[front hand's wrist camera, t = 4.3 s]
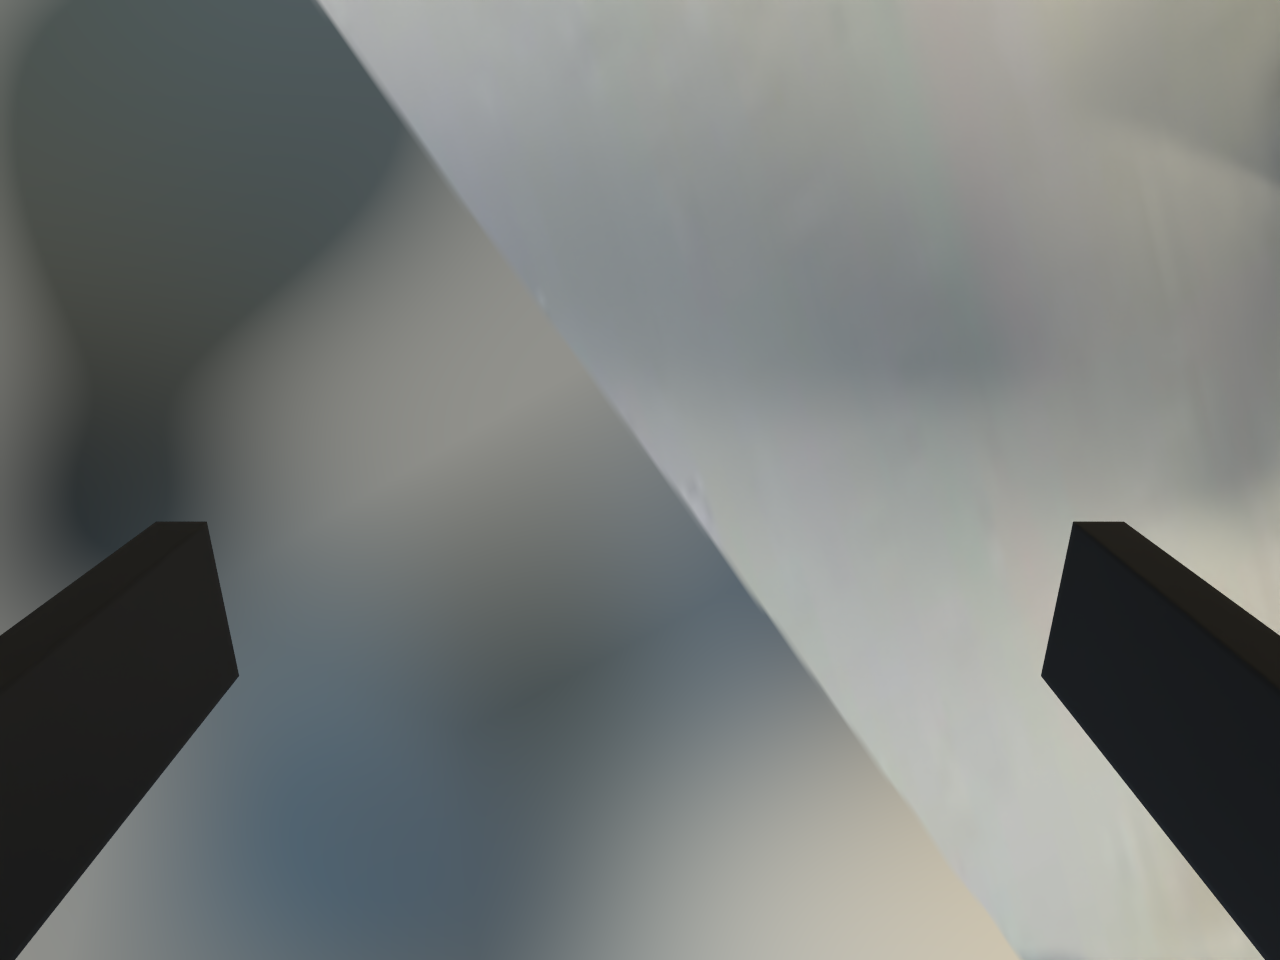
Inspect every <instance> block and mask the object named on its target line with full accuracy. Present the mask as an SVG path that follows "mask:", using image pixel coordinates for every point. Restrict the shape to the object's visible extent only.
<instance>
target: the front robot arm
mask: <svg viewBox="0 0 1280 960" xmlns="http://www.w3.org/2000/svg"><path fill="white" fill-rule="evenodd" d="M238 676H239V674H238V669H237V664H236V659H235V654H234V650H233V645H232V640H231V635H230V631H229V626H228V621H227V616H226V612H225V607H224V602H223V597H222V593H221V588H220V583H219V578H218V573H217V569H216V564H215V559H214V554H213V549H212V545H211V540H210V535H209V530H208V526H207V522H155V523H154V524H152V525H151V526H150V527H148V528H147V529H146V530H144V531H143V532H141V533H140V534H139V535H137V536H136V537H135V538H133V539H132V540H130V541H129V542H128V543H126V544H125V545H124V546H122V547H121V548H120V549H118V550H117V551H115V552H114V553H113V554H111V555H110V556H109V557H107V558H106V559H104V560H103V561H102V562H100V563H99V564H98V565H96V566H95V567H94V568H92V569H91V570H90V571H88V572H87V573H85V574H84V575H83V576H81V577H80V578H79V579H77V580H76V581H74V582H73V583H72V584H70V585H69V586H68V587H66V588H65V589H63V590H62V591H61V592H59V593H58V594H57V595H55V596H54V597H53V598H51V599H50V600H48V601H47V602H46V603H44V604H43V605H42V606H40V607H39V608H37V609H36V610H35V611H33V612H32V613H31V614H29V615H28V616H27V617H25V618H24V619H22V620H21V621H20V622H18V623H17V624H16V625H14V626H13V627H12V628H10V629H9V630H7V631H6V632H5V633H3V634H2V635H1V636H0V960H15V959H16V958H17V956H18V955H19V954H20V953H21V951H22V950H23V949H24V948H25V946H26V945H27V944H28V942H29V941H30V940H31V939H32V937H33V936H34V935H35V934H36V932H37V931H38V930H39V928H40V927H41V926H42V925H43V923H44V922H45V921H46V920H47V918H48V917H49V916H50V915H51V913H52V912H53V911H54V910H55V908H56V907H57V906H58V905H59V903H60V902H61V901H62V899H63V898H64V897H65V896H66V894H67V893H68V892H69V891H70V889H71V888H72V887H73V886H74V884H75V883H76V882H77V880H78V879H79V878H80V877H81V875H82V874H83V873H84V872H85V870H86V869H87V868H88V867H89V865H90V864H91V863H92V861H93V860H94V859H95V858H96V856H97V855H98V854H99V853H100V851H101V850H102V849H103V847H104V846H105V845H106V844H107V842H108V841H109V840H110V839H111V837H112V836H113V835H114V834H115V832H116V831H117V830H118V828H119V827H120V826H121V825H122V823H123V822H124V821H125V820H126V818H127V817H128V816H129V815H130V813H131V812H132V811H133V809H134V808H135V807H136V806H137V804H138V803H139V802H140V801H141V799H142V798H143V797H144V796H145V794H146V793H147V792H148V790H149V789H150V788H151V787H152V785H153V784H154V783H155V782H156V780H157V779H158V778H159V777H160V775H161V774H162V773H163V771H164V770H165V769H166V768H167V766H168V765H169V764H170V763H171V761H172V760H173V759H174V758H175V756H176V755H177V754H178V752H179V751H180V750H181V749H182V747H183V746H184V745H185V744H186V742H187V741H188V740H189V738H190V737H191V736H192V735H193V733H194V732H195V731H196V730H197V728H198V727H199V726H200V725H201V723H202V722H203V721H204V720H205V718H206V717H207V716H208V714H209V713H210V712H211V711H212V709H213V708H214V707H215V706H216V704H217V703H218V702H219V701H220V699H221V698H222V697H223V695H224V694H225V693H226V692H227V690H228V689H229V688H230V687H231V685H232V684H233V683H234V682H235V680H236V679H237V678H238ZM1041 676H1042V678H1043V679H1044V680H1045V682H1046V683H1047V684H1048V685H1049V687H1050V688H1051V689H1052V690H1053V692H1054V693H1055V694H1056V695H1057V697H1058V698H1059V699H1060V701H1061V702H1062V703H1063V704H1064V706H1065V707H1066V708H1067V709H1068V711H1069V712H1070V713H1071V714H1072V716H1073V717H1074V718H1075V720H1076V721H1077V722H1078V723H1079V725H1080V726H1081V727H1082V728H1083V730H1084V731H1085V732H1086V733H1087V735H1088V736H1089V737H1090V739H1091V740H1092V741H1093V742H1094V744H1095V745H1096V746H1097V747H1098V749H1099V750H1100V751H1101V752H1102V754H1103V755H1104V756H1105V758H1106V759H1107V760H1108V761H1109V763H1110V764H1111V765H1112V766H1113V768H1114V769H1115V770H1116V771H1117V773H1118V774H1119V775H1120V777H1121V778H1122V779H1123V780H1124V782H1125V783H1126V784H1127V785H1128V787H1129V788H1130V789H1131V790H1132V792H1133V793H1134V794H1135V796H1136V797H1137V798H1138V799H1139V801H1140V802H1141V803H1142V804H1143V806H1144V807H1145V808H1146V809H1147V811H1148V812H1149V813H1150V815H1151V816H1152V817H1153V818H1154V820H1155V821H1156V822H1157V823H1158V825H1159V826H1160V827H1161V829H1162V830H1163V831H1164V832H1165V834H1166V835H1167V836H1168V837H1169V839H1170V840H1171V841H1172V842H1173V844H1174V845H1175V846H1176V848H1177V849H1178V850H1179V851H1180V853H1181V854H1182V855H1183V856H1184V858H1185V859H1186V860H1187V861H1188V863H1189V864H1190V865H1191V867H1192V868H1193V869H1194V870H1195V872H1196V873H1197V874H1198V875H1199V877H1200V878H1201V879H1202V880H1203V882H1204V883H1205V884H1206V886H1207V887H1208V888H1209V889H1210V891H1211V892H1212V893H1213V894H1214V896H1215V897H1216V898H1217V899H1218V901H1219V902H1220V903H1221V905H1222V906H1223V907H1224V908H1225V910H1226V911H1227V912H1228V913H1229V915H1230V916H1231V917H1232V918H1233V920H1234V921H1235V922H1236V924H1237V925H1238V926H1239V927H1240V929H1241V930H1242V931H1243V932H1244V934H1245V935H1246V936H1247V937H1248V939H1249V940H1250V941H1251V943H1252V944H1253V945H1254V946H1255V948H1256V949H1257V950H1258V951H1259V953H1260V954H1261V955H1262V956H1263V958H1264V959H1265V960H1280V636H1279V635H1278V634H1277V633H1275V632H1274V631H1273V630H1271V629H1270V628H1268V627H1267V626H1266V625H1264V624H1263V623H1262V622H1260V621H1259V620H1258V619H1256V618H1255V617H1253V616H1252V615H1251V614H1249V613H1248V612H1247V611H1245V610H1244V609H1243V608H1241V607H1240V606H1238V605H1237V604H1236V603H1234V602H1233V601H1232V600H1230V599H1229V598H1227V597H1226V596H1225V595H1223V594H1222V593H1221V592H1219V591H1218V590H1217V589H1215V588H1214V587H1212V586H1211V585H1210V584H1208V583H1207V582H1206V581H1204V580H1203V579H1201V578H1200V577H1199V576H1197V575H1196V574H1195V573H1193V572H1192V571H1191V570H1189V569H1188V568H1186V567H1185V566H1184V565H1182V564H1181V563H1180V562H1178V561H1177V560H1176V559H1174V558H1173V557H1171V556H1170V555H1169V554H1167V553H1166V552H1165V551H1163V550H1162V549H1160V548H1159V547H1158V546H1156V545H1155V544H1154V543H1152V542H1151V541H1150V540H1148V539H1147V538H1145V537H1144V536H1143V535H1141V534H1140V533H1139V532H1137V531H1136V530H1135V529H1133V528H1132V527H1130V526H1129V525H1128V524H1126V523H1125V522H1073V526H1072V530H1071V535H1070V540H1069V545H1068V549H1067V554H1066V559H1065V564H1064V569H1063V573H1062V578H1061V583H1060V588H1059V592H1058V597H1057V602H1056V607H1055V612H1054V616H1053V621H1052V626H1051V631H1050V635H1049V640H1048V645H1047V650H1046V654H1045V659H1044V664H1043V669H1042V674H1041Z"/></svg>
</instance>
